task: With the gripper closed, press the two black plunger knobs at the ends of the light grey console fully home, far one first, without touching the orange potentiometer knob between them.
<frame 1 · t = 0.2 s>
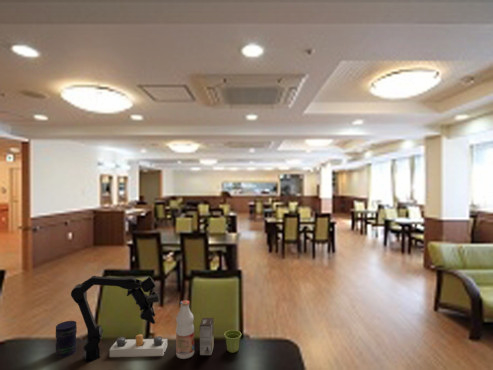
hand: (154, 319, 167), 15 cm above the table, tool tilted 30°, fingers open, 9 cm apart
fruit juice: (185, 354, 160), on the table
knob far: (157, 341, 163), point 5 cm above the table, slide at 0.0 cm
plant pot: (232, 350, 164), on the table
coffee box: (207, 351, 163), on the table
console: (139, 351, 163), on the table
knob near: (120, 342, 163), point 5 cm above the table, slide at 0.0 cm
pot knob: (139, 340, 163), point 6 cm above the table, slide at 0.0 cm
storage jar: (66, 352, 163), on the table
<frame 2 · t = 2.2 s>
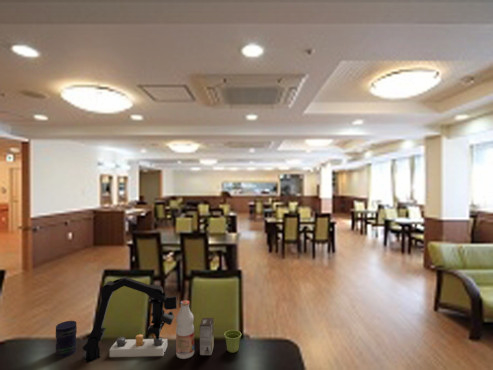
hand: (157, 338, 163), 7 cm above the table, tool pointing down, fingers closed, pressing on knob far
knob far: (157, 341, 163), point 5 cm above the table, slide at 0.1 cm, touching gripper
everything else where it was.
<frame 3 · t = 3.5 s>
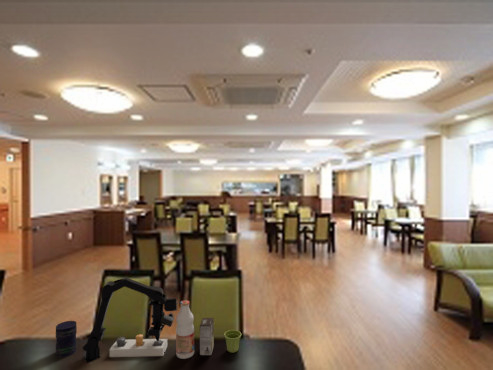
hand: (158, 340, 163), 6 cm above the table, tool pointing down, fingers closed
knob far: (157, 345, 163), point 3 cm above the table, slide at 2.1 cm
everything else where it was.
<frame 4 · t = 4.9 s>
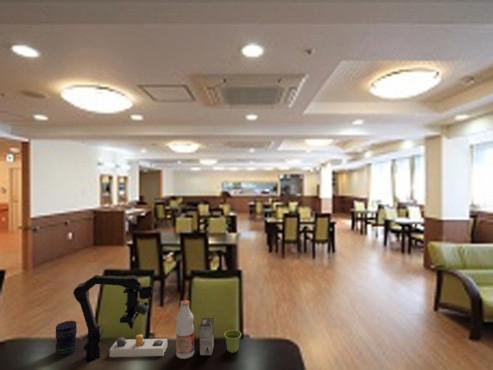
hand: (131, 328, 163), 13 cm above the table, tool pointing down, fingers closed
nothing on the table moved.
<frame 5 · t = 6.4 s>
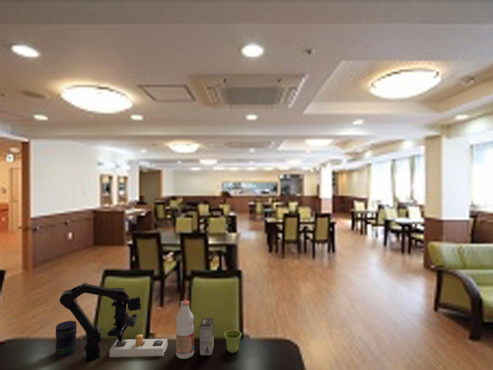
hand: (120, 341, 163), 6 cm above the table, tool pointing down, fingers closed, pressing on knob near
knob near: (120, 344, 163), point 4 cm above the table, slide at 1.0 cm, touching gripper
everything else where it was.
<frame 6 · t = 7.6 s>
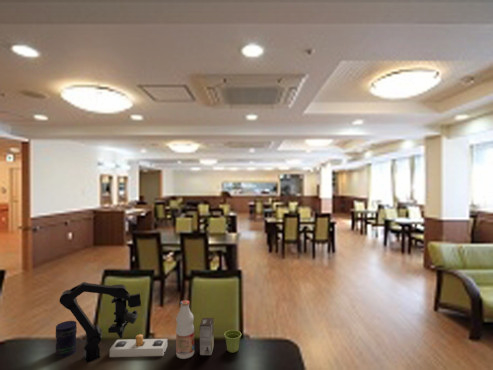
hand: (121, 337, 163), 8 cm above the table, tool pointing down, fingers closed
knob near: (120, 346, 163), point 3 cm above the table, slide at 2.1 cm
everything else where it was.
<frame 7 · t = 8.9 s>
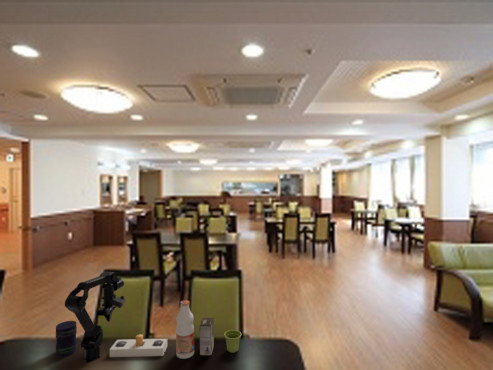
hand: (108, 321, 171), 13 cm above the table, tool pointing down, fingers closed
nothing on the table moved.
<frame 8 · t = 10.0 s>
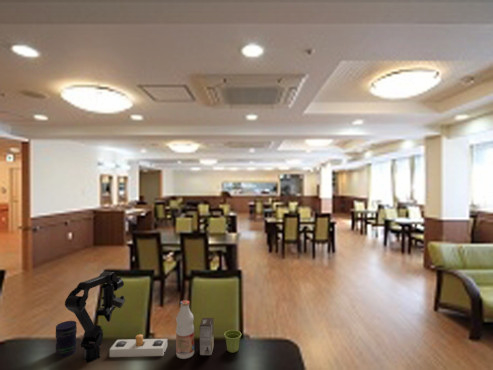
hand: (108, 321, 171), 13 cm above the table, tool pointing down, fingers closed
nothing on the table moved.
at the end: knob far slide at 2.1 cm; knob near slide at 2.1 cm; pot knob slide at 0.0 cm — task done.
